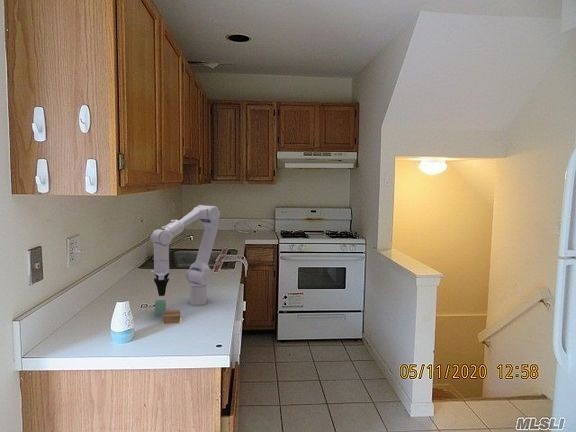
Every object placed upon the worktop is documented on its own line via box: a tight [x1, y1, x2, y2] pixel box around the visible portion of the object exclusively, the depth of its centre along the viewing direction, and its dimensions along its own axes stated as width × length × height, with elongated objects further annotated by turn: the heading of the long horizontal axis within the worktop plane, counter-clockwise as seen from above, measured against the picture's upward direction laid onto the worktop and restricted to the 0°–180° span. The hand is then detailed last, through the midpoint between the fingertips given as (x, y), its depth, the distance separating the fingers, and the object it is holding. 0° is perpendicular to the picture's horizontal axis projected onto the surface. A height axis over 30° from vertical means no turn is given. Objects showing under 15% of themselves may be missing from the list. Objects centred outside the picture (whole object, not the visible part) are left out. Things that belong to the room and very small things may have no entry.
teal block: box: [154, 299, 167, 316], centre depth 160 cm, size 4×4×5 cm
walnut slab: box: [162, 309, 181, 325], centre depth 153 cm, size 6×6×3 cm
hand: (162, 292), depth 159 cm, fingers open, 7 cm apart
